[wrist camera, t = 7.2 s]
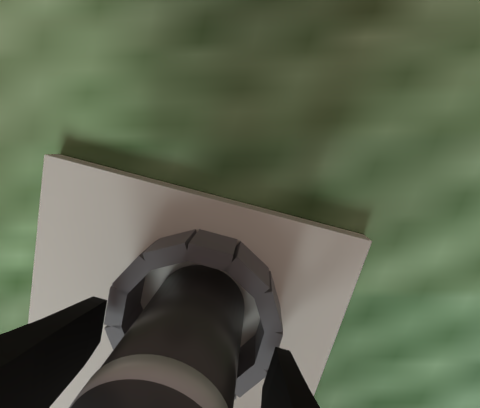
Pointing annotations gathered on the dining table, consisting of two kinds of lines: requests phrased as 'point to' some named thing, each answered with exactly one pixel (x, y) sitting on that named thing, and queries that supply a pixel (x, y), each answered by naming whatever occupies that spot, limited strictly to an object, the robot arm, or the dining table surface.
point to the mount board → (185, 254)
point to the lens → (176, 348)
